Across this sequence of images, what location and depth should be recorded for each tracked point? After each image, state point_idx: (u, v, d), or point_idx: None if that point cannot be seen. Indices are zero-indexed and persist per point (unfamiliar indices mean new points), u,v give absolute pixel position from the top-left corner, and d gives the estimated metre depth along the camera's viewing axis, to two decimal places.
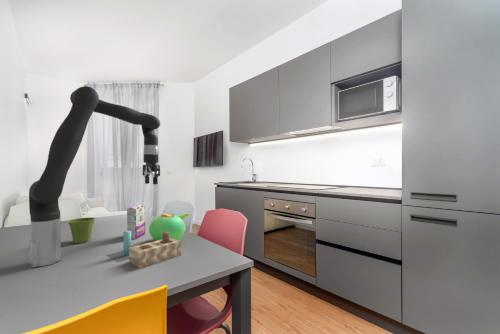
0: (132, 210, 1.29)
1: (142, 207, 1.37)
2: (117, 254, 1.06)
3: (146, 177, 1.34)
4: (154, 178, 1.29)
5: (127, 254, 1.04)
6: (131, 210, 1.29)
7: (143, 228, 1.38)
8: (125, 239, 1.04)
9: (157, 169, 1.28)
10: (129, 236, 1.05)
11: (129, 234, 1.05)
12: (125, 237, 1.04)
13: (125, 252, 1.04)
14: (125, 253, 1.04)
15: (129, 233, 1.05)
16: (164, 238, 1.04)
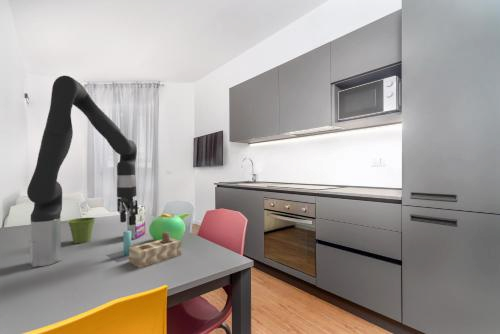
0: None
1: (142, 207, 1.37)
2: (117, 254, 1.06)
3: (122, 214, 1.08)
4: (130, 217, 1.02)
5: (127, 254, 1.04)
6: None
7: (143, 228, 1.38)
8: (125, 239, 1.04)
9: (134, 206, 1.01)
10: (129, 236, 1.05)
11: (129, 234, 1.05)
12: (125, 237, 1.04)
13: (125, 252, 1.04)
14: (125, 253, 1.04)
15: (129, 233, 1.05)
16: (164, 238, 1.04)
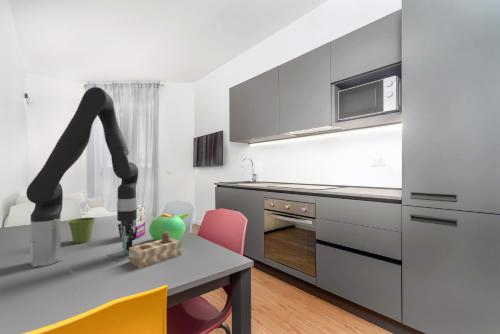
0: None
1: (142, 207, 1.37)
2: (117, 254, 1.06)
3: None
4: (128, 243, 1.03)
5: (127, 254, 1.04)
6: None
7: (143, 228, 1.38)
8: (125, 239, 1.04)
9: (132, 234, 1.02)
10: None
11: None
12: (125, 237, 1.04)
13: (125, 252, 1.04)
14: (125, 253, 1.04)
15: None
16: (164, 238, 1.04)
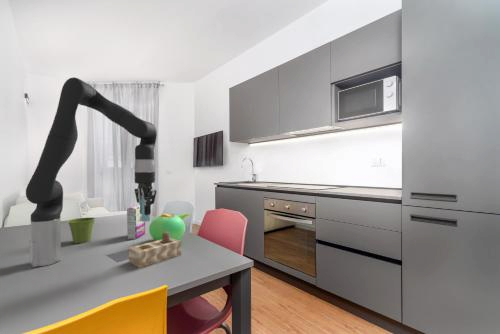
0: (132, 210, 1.29)
1: None
2: (117, 254, 1.06)
3: None
4: (146, 207, 0.96)
5: (145, 219, 0.97)
6: (131, 210, 1.29)
7: (143, 228, 1.38)
8: (143, 203, 0.97)
9: (151, 197, 0.94)
10: None
11: None
12: (143, 201, 0.97)
13: (143, 217, 0.97)
14: (143, 218, 0.97)
15: None
16: (164, 238, 1.04)
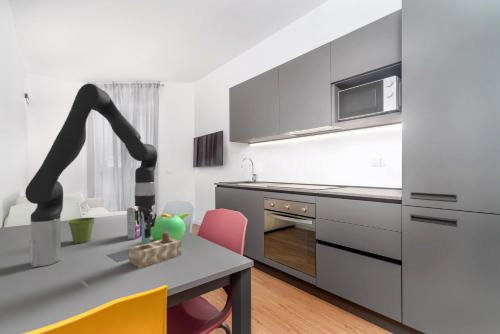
0: (132, 210, 1.29)
1: None
2: (117, 254, 1.06)
3: None
4: (146, 230, 0.96)
5: (146, 242, 0.97)
6: (131, 210, 1.29)
7: None
8: (143, 226, 0.97)
9: (152, 220, 0.94)
10: None
11: None
12: (143, 224, 0.97)
13: (143, 240, 0.97)
14: (143, 241, 0.97)
15: None
16: (164, 238, 1.04)
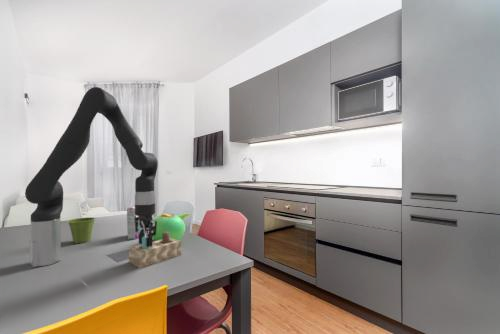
0: (132, 210, 1.29)
1: None
2: (117, 254, 1.06)
3: (140, 235, 1.00)
4: (148, 239, 0.95)
5: None
6: (131, 210, 1.29)
7: None
8: (144, 245, 0.97)
9: (153, 228, 0.94)
10: None
11: None
12: (144, 243, 0.97)
13: None
14: None
15: None
16: (164, 238, 1.04)
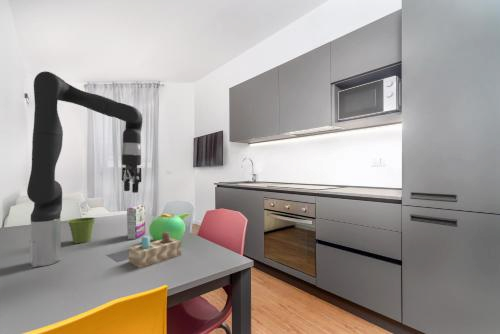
0: (132, 210, 1.29)
1: (142, 207, 1.37)
2: (117, 254, 1.06)
3: (125, 183, 1.08)
4: (134, 185, 1.02)
5: None
6: (131, 210, 1.29)
7: (143, 228, 1.38)
8: (144, 245, 0.97)
9: (137, 174, 1.01)
10: (148, 242, 0.97)
11: (148, 240, 0.97)
12: (144, 243, 0.97)
13: None
14: None
15: (148, 239, 0.97)
16: (164, 238, 1.04)
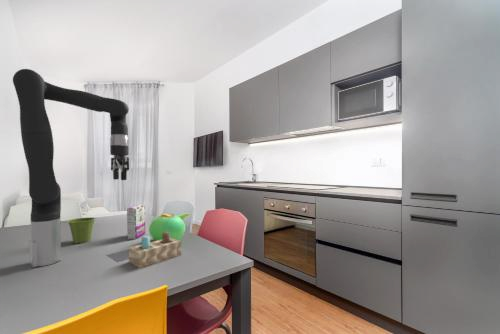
0: (132, 210, 1.29)
1: (142, 207, 1.37)
2: (117, 254, 1.06)
3: (115, 172, 1.17)
4: (122, 173, 1.11)
5: None
6: (131, 210, 1.29)
7: (143, 228, 1.38)
8: (144, 245, 0.97)
9: (125, 162, 1.10)
10: (148, 242, 0.97)
11: (148, 240, 0.97)
12: (144, 243, 0.97)
13: None
14: None
15: (148, 239, 0.97)
16: (164, 238, 1.04)
